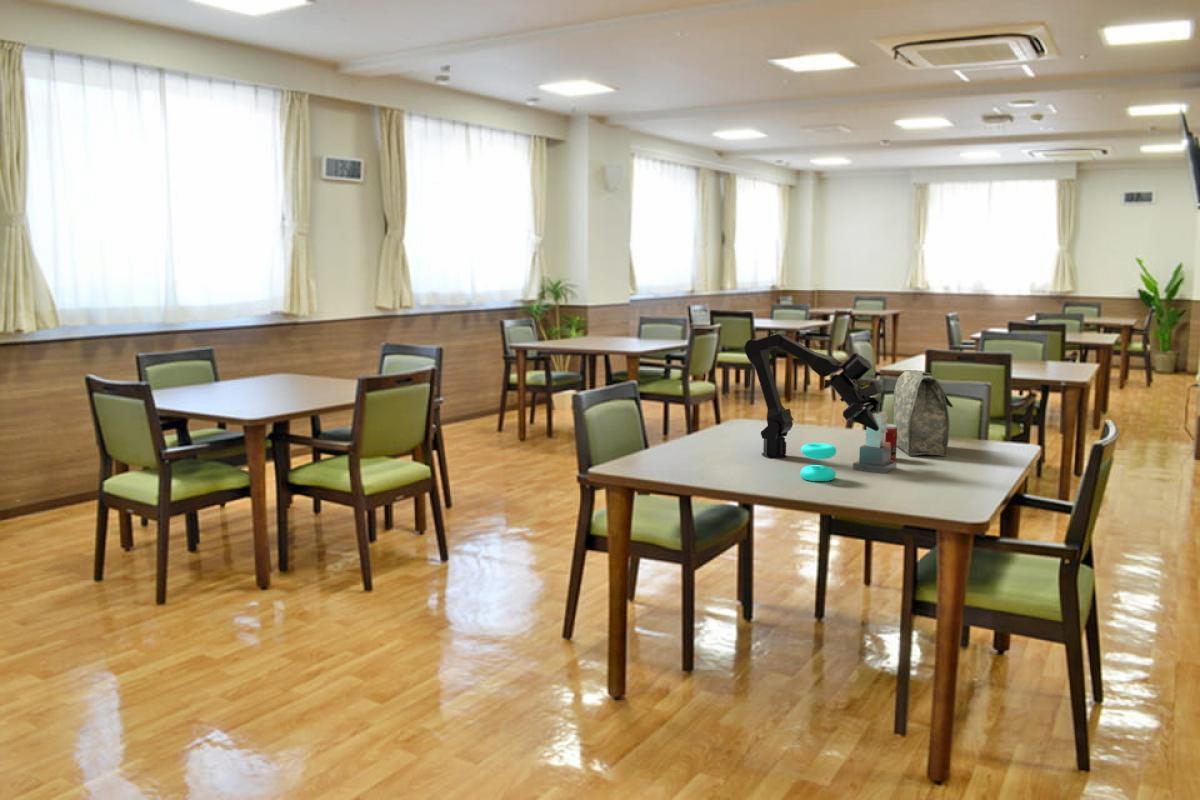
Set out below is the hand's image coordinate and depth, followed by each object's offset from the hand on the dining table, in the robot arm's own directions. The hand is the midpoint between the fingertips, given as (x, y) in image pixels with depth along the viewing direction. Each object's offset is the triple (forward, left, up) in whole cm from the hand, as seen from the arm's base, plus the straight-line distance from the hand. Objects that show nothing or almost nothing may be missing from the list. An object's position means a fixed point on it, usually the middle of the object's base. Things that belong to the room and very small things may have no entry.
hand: (880, 429), depth 295 cm
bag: (+28, +26, -13) cm, 40 cm away
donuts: (-24, -9, -13) cm, 29 cm away
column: (-1, +1, -7) cm, 7 cm away
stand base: (-1, +1, -12) cm, 13 cm away
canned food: (+9, +15, -13) cm, 22 cm away
